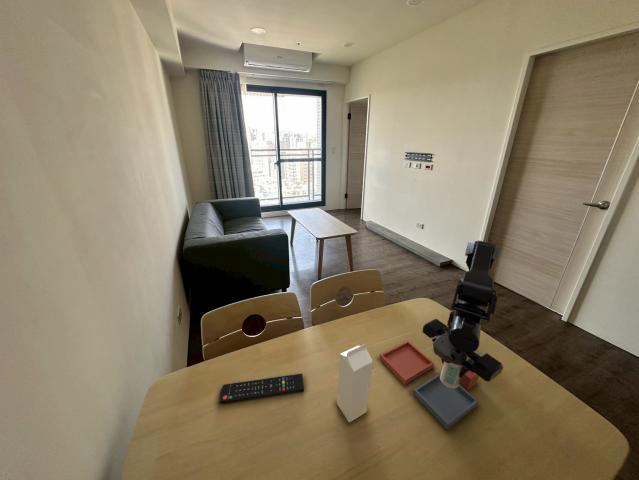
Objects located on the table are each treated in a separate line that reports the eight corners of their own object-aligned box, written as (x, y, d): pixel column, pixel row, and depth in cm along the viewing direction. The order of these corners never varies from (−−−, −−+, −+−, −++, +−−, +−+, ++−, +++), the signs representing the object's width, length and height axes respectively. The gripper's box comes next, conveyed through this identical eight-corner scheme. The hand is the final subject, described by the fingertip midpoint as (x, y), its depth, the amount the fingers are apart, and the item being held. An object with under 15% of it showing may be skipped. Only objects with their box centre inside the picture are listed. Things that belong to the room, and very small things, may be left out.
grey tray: (442, 375, 80) (443, 370, 79) (476, 405, 71) (478, 401, 70) (413, 394, 74) (414, 389, 73) (447, 430, 65) (448, 425, 64)
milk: (366, 412, 69) (375, 352, 61) (348, 423, 66) (355, 362, 58) (353, 393, 74) (359, 335, 65) (336, 403, 71) (340, 344, 63)
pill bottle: (454, 375, 72) (463, 343, 68) (461, 390, 68) (471, 357, 64) (437, 373, 73) (445, 341, 68) (442, 388, 69) (451, 356, 64)
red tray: (407, 344, 92) (407, 340, 91) (433, 367, 83) (434, 363, 82) (379, 358, 86) (380, 354, 85) (404, 385, 77) (405, 380, 76)
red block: (461, 371, 82) (465, 360, 80) (476, 383, 77) (480, 372, 76) (451, 377, 79) (455, 366, 77) (466, 390, 75) (471, 379, 73)
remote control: (304, 392, 74) (304, 388, 74) (218, 405, 70) (218, 402, 70) (302, 376, 79) (302, 373, 78) (222, 388, 75) (221, 384, 74)
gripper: (413, 313, 67) (404, 357, 73) (484, 365, 52) (466, 415, 57) (440, 301, 72) (430, 343, 78) (513, 345, 57) (493, 393, 63)
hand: (452, 369), depth 69 cm, fingers closed on pill bottle, 5 cm apart
